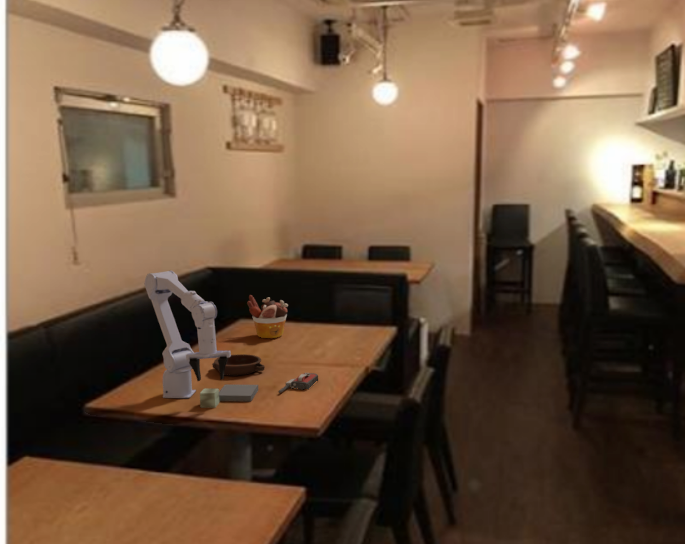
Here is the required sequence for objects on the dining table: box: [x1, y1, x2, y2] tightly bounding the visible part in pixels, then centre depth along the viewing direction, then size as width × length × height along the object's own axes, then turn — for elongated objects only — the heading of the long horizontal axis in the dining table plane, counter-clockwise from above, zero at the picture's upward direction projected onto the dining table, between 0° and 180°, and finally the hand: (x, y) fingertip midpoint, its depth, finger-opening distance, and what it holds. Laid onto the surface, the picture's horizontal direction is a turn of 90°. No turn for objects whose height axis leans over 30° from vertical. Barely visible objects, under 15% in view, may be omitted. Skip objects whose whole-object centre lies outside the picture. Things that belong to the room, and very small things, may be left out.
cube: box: [199, 388, 220, 409], centre depth 222 cm, size 5×5×5 cm
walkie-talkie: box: [277, 372, 319, 394], centre depth 240 cm, size 9×4×20 cm
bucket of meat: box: [246, 294, 289, 339], centre depth 317 cm, size 20×16×20 cm
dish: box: [211, 353, 266, 377], centre depth 261 cm, size 18×22×5 cm
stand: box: [219, 384, 259, 402], centre depth 232 cm, size 12×12×2 cm
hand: (210, 379), depth 222 cm, fingers open, 7 cm apart
